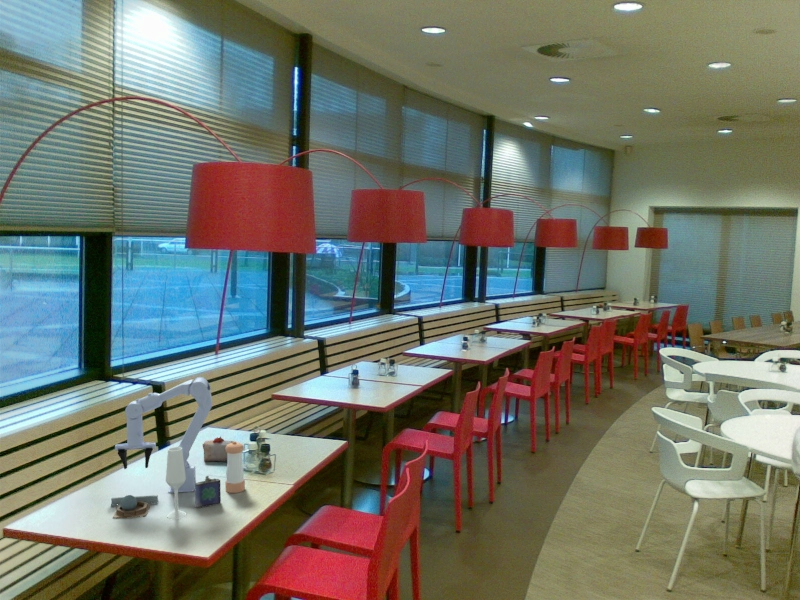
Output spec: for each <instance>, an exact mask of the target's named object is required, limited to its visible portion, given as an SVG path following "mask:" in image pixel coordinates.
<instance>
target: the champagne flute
mask: <svg viewBox="0 0 800 600" xmlns="http://www.w3.org/2000/svg"><path fill="white" fill-rule="evenodd" d="M166 456H167V458H166V460H167V461H166V469H165V473H166V474H165V482H166V484H167V485H168V486H169V488H170V487H172V488H173V489H174V510H173V511H171V512H170V513H168V514H167V515H166V518H167V517H168V518H167V519H169V520H179V518H180V519H183V518H185V517H186V516H187V515H186V514H187V513H186V512H185V511H183V510H180V509H179V492H178V488H180V487H181V486H182V485H183V483H184V482H185V480H186V476H185V467H184V459H183V451H182V448H181V447H178V446H173V447H169V448H168V449H167V455H166ZM170 518H171V519H170Z"/></svg>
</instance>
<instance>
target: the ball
mask: <svg viewBox="0 0 800 600" xmlns="http://www.w3.org/2000/svg"><path fill="white" fill-rule="evenodd" d="M123 497H124V498H123V499H122V500H121V507H122V509H123V510H125V511H131V510H133V509H134V508H135V507H136V505H137V499H136V498H135V496H134V495H133V494H128V495H125V496H123Z"/></svg>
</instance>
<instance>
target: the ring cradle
mask: <svg viewBox="0 0 800 600" xmlns="http://www.w3.org/2000/svg"><path fill="white" fill-rule="evenodd" d="M151 506H152V503H146V502H143V501H137V505H136V507H135V508H134V509H133V510H131V511H125V510H123V509H122V507H121V504H120V505H117V508H116V510H115V513H114V514H113V516H112V519H113V518H116V519H128V518H127V517H132V518H141V517H140V516H143V517H142V518H145V517H144V516H146V517H147V515H148V512H149V511H150V508H151ZM148 510H149V511H148Z"/></svg>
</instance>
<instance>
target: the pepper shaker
mask: <svg viewBox="0 0 800 600" xmlns="http://www.w3.org/2000/svg"><path fill="white" fill-rule="evenodd" d="M232 441H233V442H232V443H230V444H228V445H227V446H226V447H225V450H226V452H227V465H226V470H225V471H226V472H225V474H226V475H225V477H226V480H225V492H227V493H230V494H238V493H241V492H244V491H245V489H246V486H245V485H246V483H245V482H246V481H245V477H244V476H245V473H244V472H245V470H244V467H243V466H244V465H243V451H244V448H245V447H244V445H243V443H241V442H237V441H236V440H232Z"/></svg>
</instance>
